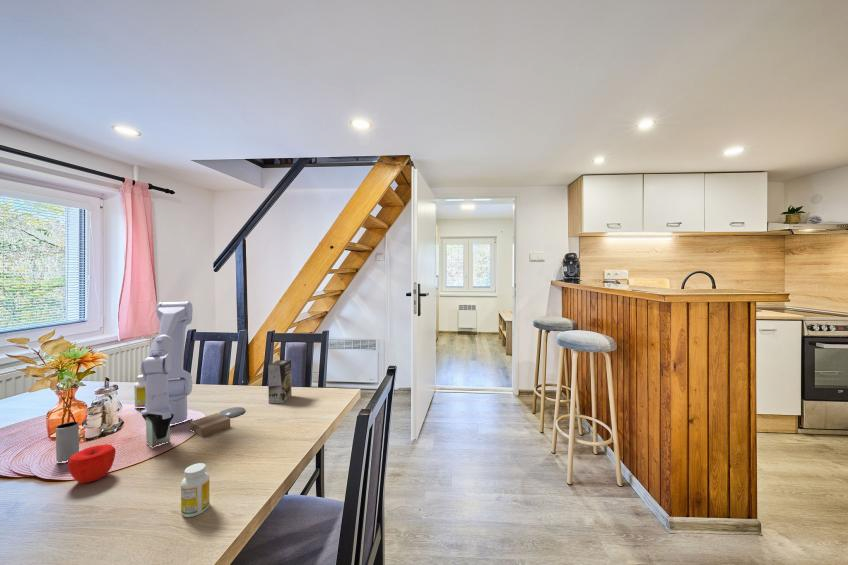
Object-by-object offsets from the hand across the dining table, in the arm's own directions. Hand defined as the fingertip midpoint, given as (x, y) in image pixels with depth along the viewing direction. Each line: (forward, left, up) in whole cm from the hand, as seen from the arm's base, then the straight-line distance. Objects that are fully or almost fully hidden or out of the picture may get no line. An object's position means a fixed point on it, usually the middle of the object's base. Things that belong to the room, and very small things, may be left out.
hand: (158, 436), depth 107 cm
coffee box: (-1, +44, -3) cm, 44 cm away
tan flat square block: (+3, +14, -2) cm, 15 cm away
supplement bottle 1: (-42, +10, -3) cm, 43 cm away
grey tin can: (-11, -18, -3) cm, 21 cm away
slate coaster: (-4, +25, -2) cm, 25 cm away
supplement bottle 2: (+44, -8, -3) cm, 45 cm away
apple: (+8, -17, -3) cm, 19 cm away
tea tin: (0, 0, -2) cm, 2 cm away
